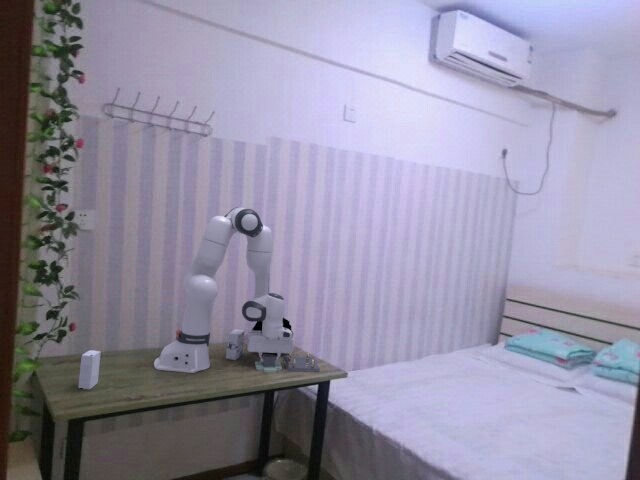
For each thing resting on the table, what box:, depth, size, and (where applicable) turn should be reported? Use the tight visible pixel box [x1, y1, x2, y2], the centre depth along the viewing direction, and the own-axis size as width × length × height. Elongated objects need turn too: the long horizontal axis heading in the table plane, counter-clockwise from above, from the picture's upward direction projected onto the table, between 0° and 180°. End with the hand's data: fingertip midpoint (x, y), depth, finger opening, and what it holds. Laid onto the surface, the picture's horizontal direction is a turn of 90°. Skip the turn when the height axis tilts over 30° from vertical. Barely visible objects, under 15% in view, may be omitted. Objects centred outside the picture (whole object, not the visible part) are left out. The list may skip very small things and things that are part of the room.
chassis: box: [282, 352, 321, 373], centre depth 219 cm, size 14×15×5 cm
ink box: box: [225, 328, 246, 361], centre depth 221 cm, size 9×5×12 cm, turn 168°
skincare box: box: [78, 349, 101, 390], centre depth 172 cm, size 6×4×12 cm
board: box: [254, 353, 283, 373], centre depth 213 cm, size 11×13×5 cm
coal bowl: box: [251, 317, 294, 338], centre depth 235 cm, size 20×20×19 cm
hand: (268, 362), depth 213 cm, fingers closed on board, 4 cm apart
